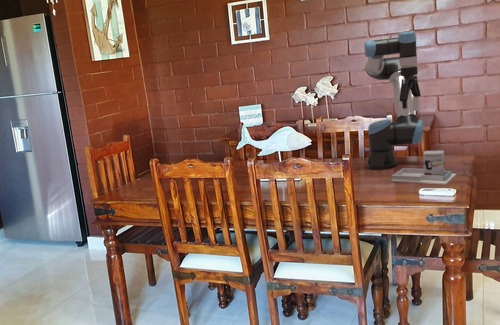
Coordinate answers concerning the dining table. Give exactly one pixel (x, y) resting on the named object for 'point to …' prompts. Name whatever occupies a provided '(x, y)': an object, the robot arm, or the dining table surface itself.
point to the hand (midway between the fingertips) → (411, 113)
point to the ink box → (434, 163)
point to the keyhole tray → (420, 176)
